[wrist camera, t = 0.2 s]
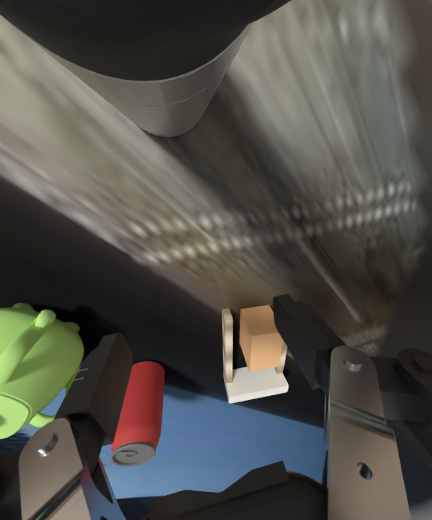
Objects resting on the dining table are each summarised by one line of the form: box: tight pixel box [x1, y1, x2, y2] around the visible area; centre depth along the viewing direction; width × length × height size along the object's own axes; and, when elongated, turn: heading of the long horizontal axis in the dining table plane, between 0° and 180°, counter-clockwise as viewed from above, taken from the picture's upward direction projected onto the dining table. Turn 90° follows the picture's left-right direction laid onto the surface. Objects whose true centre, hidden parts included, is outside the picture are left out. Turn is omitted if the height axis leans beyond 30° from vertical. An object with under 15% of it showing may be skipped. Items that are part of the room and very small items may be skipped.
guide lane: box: [222, 309, 287, 383], centre depth 36 cm, size 16×11×2 cm
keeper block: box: [240, 305, 283, 372], centre depth 33 cm, size 8×5×6 cm, turn 2°
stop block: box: [224, 367, 289, 403], centre depth 39 cm, size 2×11×5 cm, turn 92°
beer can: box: [111, 361, 165, 466], centre depth 31 cm, size 7×7×12 cm
